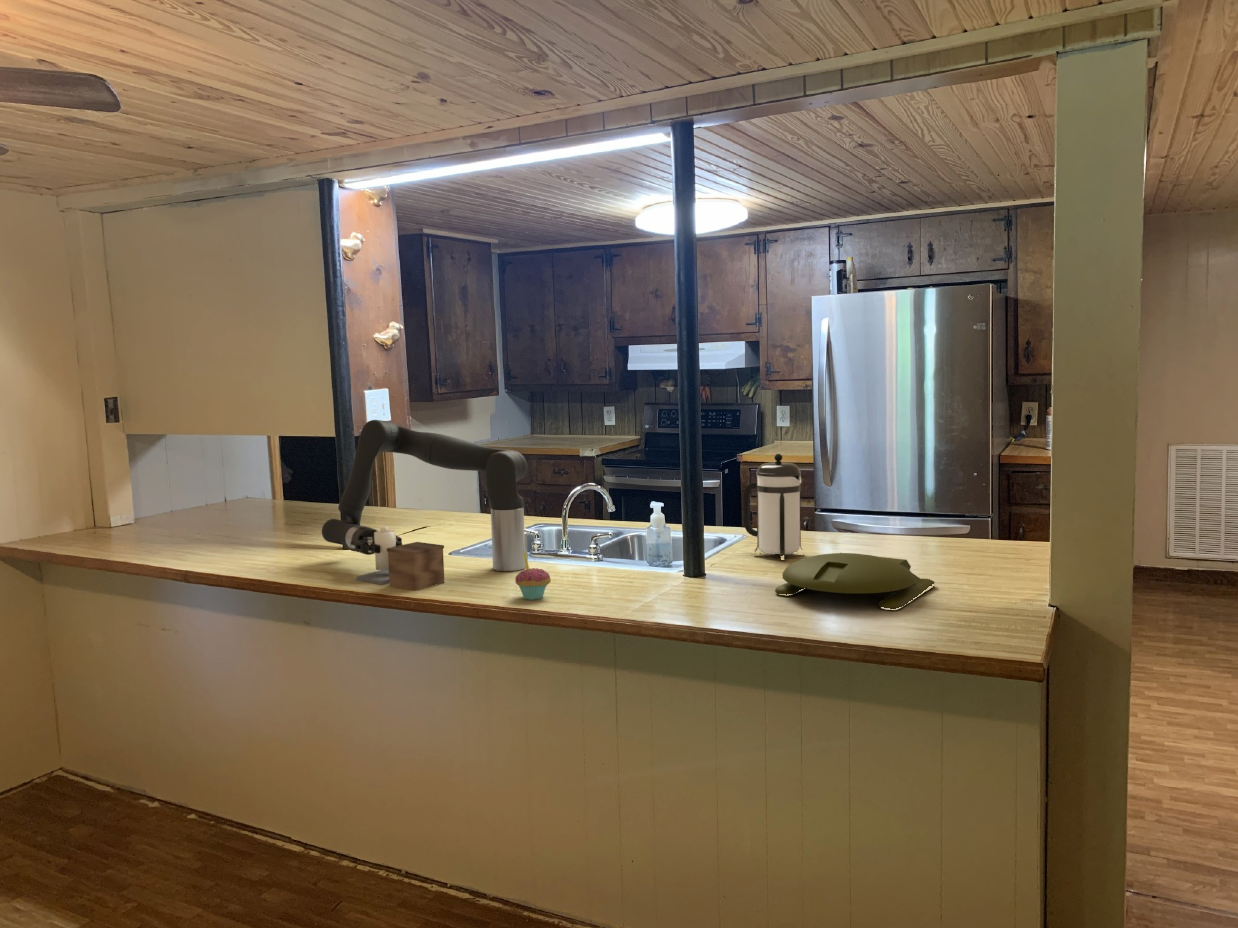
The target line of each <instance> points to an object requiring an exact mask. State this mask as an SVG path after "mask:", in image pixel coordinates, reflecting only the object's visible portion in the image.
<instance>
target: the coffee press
mask: <svg viewBox="0 0 1238 928" xmlns="http://www.w3.org/2000/svg"><path fill="white" fill-rule="evenodd" d="M774 460H775V462H772V461H771V462H764V463H762V464H761V465H759V466H758V469H757V471H755V474H756V477H757V482H752V483H749V484H748V485H746V487H745V489H744V492H743V496H742V497H743V500H742V501H743V502H742V504H743V505H742V506H743V509H742V513H743V525H744V528H745V531H746V532H747V533H748V534H749V535H750V536H752V537H756V548H755V549H754V551H755V553H756V552H757V550H759V551H760V552H763V553H762V554H767V555H775V554H780V556H783V555H785V556H786V555H792V554H795V553H794V552H799V550H800V549H801V550H803V549H802V540H801V537H802V536H801V534H802V533H801V532H802V531H801V530H802V529H801V525H802V524H801V521H802V520H801V519H802V518H801V517H802V516H801V506H802V505H801V500H802V499H801V484H802V477H801V475H802V471H801V470H800V469H799V466H798V465H796V464H795V463H793V462H785V461H782V460H783V455H782V454H780V453H777V454H775V455H774ZM754 489H755V490H756V525H757V526H756V530H755V529H754V528H753V527H752V525H751V494H752V491H753V490H754ZM791 553H792V554H791ZM780 556H779V557H780Z"/></svg>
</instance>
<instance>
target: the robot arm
mask: <svg viewBox="0 0 1238 928" xmlns="http://www.w3.org/2000/svg"><path fill="white" fill-rule="evenodd" d="M380 452H381V453H395V454H404V455H408V456H411V457H414V458H416V459H418V460H420V461H422V462H424V463H426V464H430V465H432V466H435V467H438V468H439V467H440V468H442V469H443V468H444V469H449V470H458V471H474V472H475V471H476V472H483V473H485V482H486V483H485V484H486V493H487V499H488V501H489V504H490V526H491V527H490V528H491V530H490V531H491V554H492V555H491V556H492V569H493V570H494V571H497V572H515V571H519V570H520V571H521V570H525V569H526V564H525V559H524V554H523V553H524V552H526V556H527V561H528V556H529V555H528V534H527V532H525V511H524V509H525V508H524V497H523V496H521V495H520V494H519V492H518V488H517V486H518V485H517V482H518V481H520V480H521V479H523V478H524V477H525V476H526V474H527V473H528V469H529V465H528V462H527V459H526V458H525V457H524V455H523V454H521V452H519V451H516V450H513V449H505V448H496V447H490V446H486V445H485V446H484V445H481V444H478V443H474V442H472V441H468V440H465V439H461V438H457V437H453V436H450V435H446V434H441V433H436V432H428V431H426V432H425V431H418V430H417V431H416V430H413V429H410V428H407V427H404V426H402V425H399V424H397V423H394V422H393V421H392V422H391V421H387V420H380V419H370V420H368V421H367V422H366V423H365V424H364V425H363V426H362V429H361V431H360V434H359V438H358V443H357V447H356V451H355V456H354V460H353V464H352V467H351V472H350V476H349V479H348V482H346V483H347V484H346V487H345V489H344V491H343V494H342V496H341V498H340V501H339V503H338V507H337V509H338V510H339V511H338V512H340V513H342V515H345V516H347V517H348V521H347V520H341V519H336V518H331V519H328V520H326V521H325V522H324V524H323V525H322V527H321V536H322V538H323V540H325V541H326V542H328V543H332V544H337V545H340V546H344V547H346V548H348V549H350V551H352V552H355V553H360V554H363V555H367V556H370V555H375V553H380V545H378V544H375V540H374V532H377V531H379V530H378V529H375V528H372V527H369V526H365V525H361V520H362V515H363V511H364V508H365V506H366V504H367V501H368V499H369V497H370V493H371V487H372V485H371V484H372V483H371V482H372V469H373V465H374V462H375V460H376V458H377V456H378V454H379V453H380ZM402 540H403V538H402V537H400V536H398V535H396V546H400V545H403V541H402ZM523 549H524V551H523Z"/></svg>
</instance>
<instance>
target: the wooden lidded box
mask: <svg viewBox="0 0 1238 928" xmlns="http://www.w3.org/2000/svg"><path fill="white" fill-rule="evenodd" d="M444 549H445V545H443V544H437V543H429V542H421V541H413V542H410V543H404V544H402V545H400V546H395V547H390V548H387V551H388V564H389V583H388V585H389V587H394V588H400V589H406V590H411V591H419V590H423V589H427V588H430V587H434V586H437V585H441V584H444V583H445V563H444V562H445V561H444ZM436 584H437V585H436Z"/></svg>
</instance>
